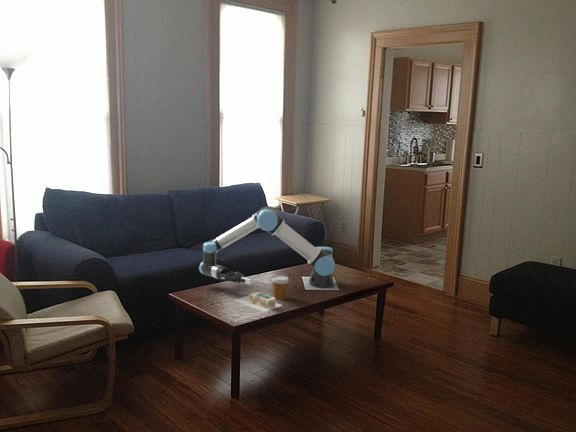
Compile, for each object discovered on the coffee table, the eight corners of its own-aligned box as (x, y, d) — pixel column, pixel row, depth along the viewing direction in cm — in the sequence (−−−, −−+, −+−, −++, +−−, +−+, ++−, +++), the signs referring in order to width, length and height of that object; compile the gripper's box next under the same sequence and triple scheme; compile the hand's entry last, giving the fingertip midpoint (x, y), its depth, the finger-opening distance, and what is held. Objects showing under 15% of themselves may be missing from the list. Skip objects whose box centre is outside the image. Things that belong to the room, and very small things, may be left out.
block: (250, 293, 286) (268, 300, 277) (256, 291, 290) (275, 297, 281) (249, 302, 287) (268, 309, 278) (256, 300, 291) (275, 307, 282)
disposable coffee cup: (289, 301, 293) (290, 280, 290) (272, 301, 291) (273, 280, 289) (287, 295, 302) (287, 275, 300) (270, 295, 300) (271, 275, 298)
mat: (232, 301, 290) (232, 300, 290) (251, 295, 300) (251, 294, 300) (264, 312, 274) (264, 311, 274) (282, 305, 285) (282, 305, 284)
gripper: (229, 276, 308) (258, 286, 293) (212, 281, 299) (241, 291, 284) (229, 264, 307) (258, 273, 292) (212, 268, 297) (241, 278, 282)
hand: (250, 282), depth 288 cm, fingers closed
